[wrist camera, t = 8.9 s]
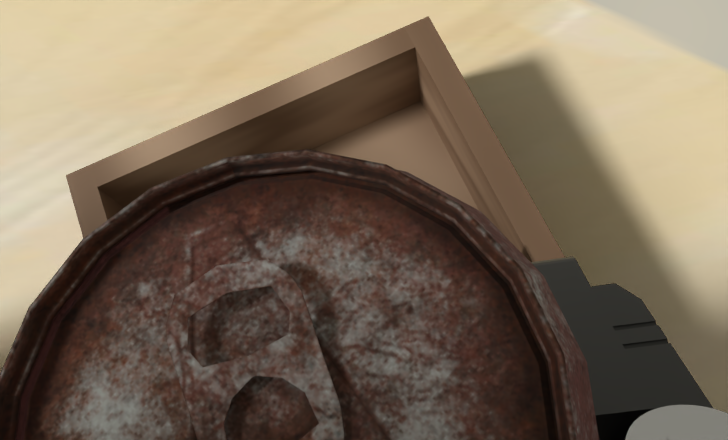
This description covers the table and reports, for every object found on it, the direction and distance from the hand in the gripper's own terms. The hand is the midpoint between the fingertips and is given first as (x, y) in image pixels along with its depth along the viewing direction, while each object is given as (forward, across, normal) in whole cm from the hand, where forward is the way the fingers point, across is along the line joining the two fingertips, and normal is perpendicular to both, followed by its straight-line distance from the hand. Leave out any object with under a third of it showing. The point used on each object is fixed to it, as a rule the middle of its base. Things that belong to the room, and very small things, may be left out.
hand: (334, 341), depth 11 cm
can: (+6, 0, +8) cm, 10 cm away
